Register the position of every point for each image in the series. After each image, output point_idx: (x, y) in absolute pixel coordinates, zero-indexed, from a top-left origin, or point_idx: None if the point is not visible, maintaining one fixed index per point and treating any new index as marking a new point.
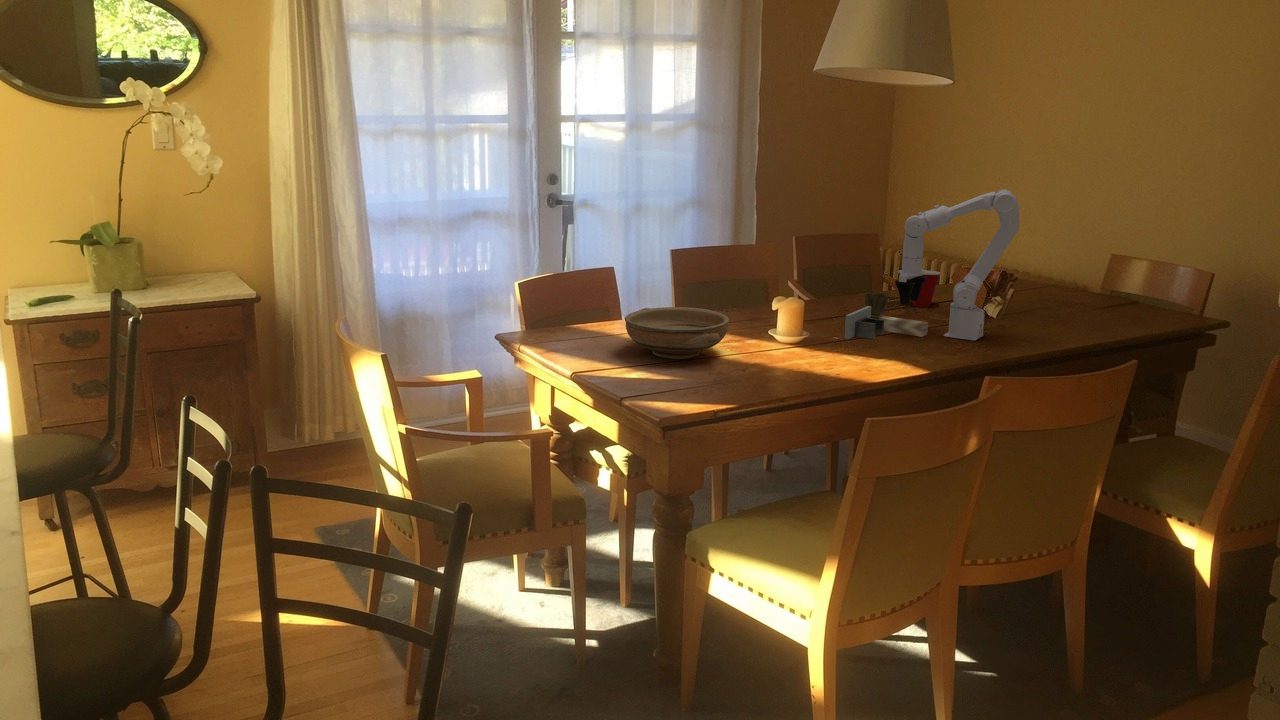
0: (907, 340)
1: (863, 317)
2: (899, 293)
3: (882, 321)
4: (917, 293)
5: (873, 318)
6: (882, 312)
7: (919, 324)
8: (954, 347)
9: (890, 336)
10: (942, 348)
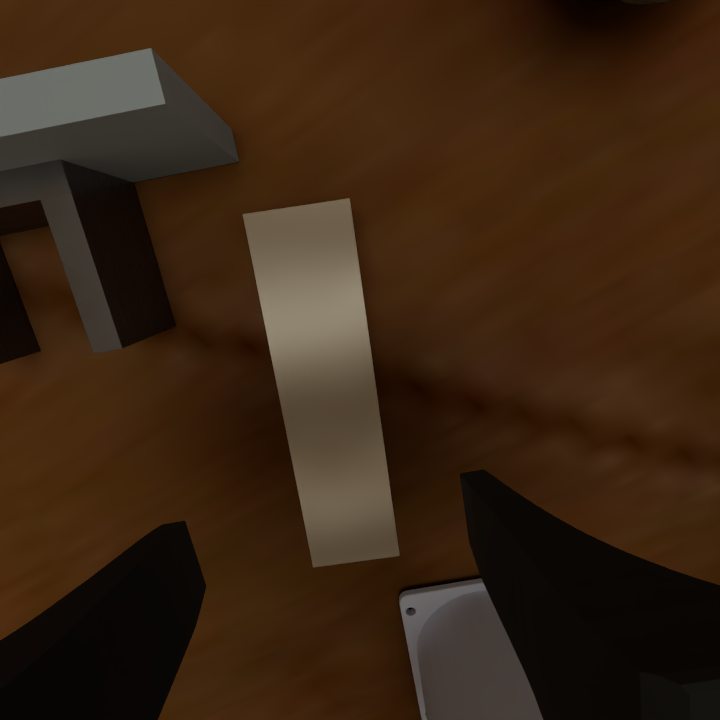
0: (171, 503)
1: (18, 166)
2: (34, 627)
3: (98, 349)
4: (504, 611)
5: (86, 250)
6: (628, 2)
7: (309, 539)
8: (236, 716)
9: (174, 384)
10: (171, 692)
